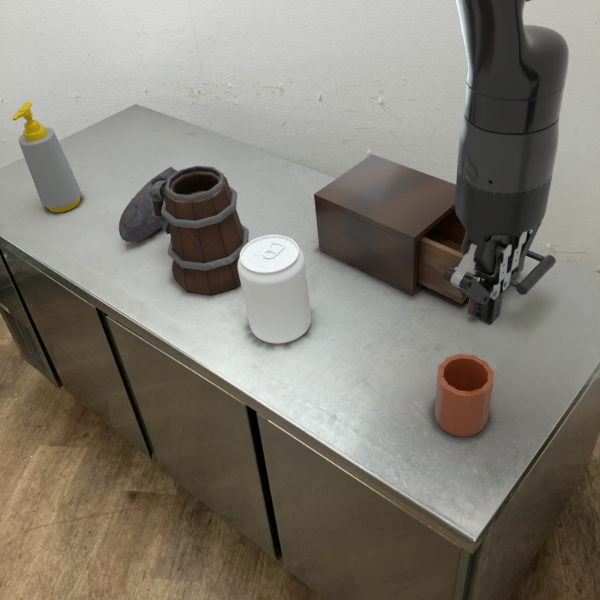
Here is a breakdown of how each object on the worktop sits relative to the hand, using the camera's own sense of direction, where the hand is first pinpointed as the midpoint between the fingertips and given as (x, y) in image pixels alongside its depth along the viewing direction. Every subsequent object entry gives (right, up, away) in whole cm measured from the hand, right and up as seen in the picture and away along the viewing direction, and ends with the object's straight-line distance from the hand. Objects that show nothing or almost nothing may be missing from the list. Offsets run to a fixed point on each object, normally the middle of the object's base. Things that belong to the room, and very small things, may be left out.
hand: (486, 317), depth 64 cm
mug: (-33, +7, +32) cm, 46 cm away
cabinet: (-5, +9, +30) cm, 32 cm away
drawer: (+4, +5, +23) cm, 23 cm away
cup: (-1, -11, +7) cm, 13 cm away
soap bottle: (-59, +18, +48) cm, 78 cm away
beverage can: (-21, -2, +21) cm, 30 cm away
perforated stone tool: (-41, +14, +40) cm, 59 cm away
